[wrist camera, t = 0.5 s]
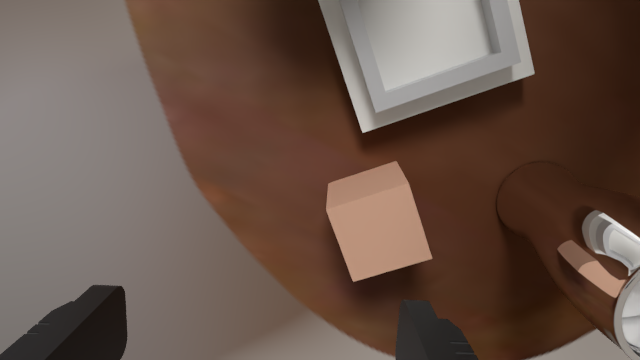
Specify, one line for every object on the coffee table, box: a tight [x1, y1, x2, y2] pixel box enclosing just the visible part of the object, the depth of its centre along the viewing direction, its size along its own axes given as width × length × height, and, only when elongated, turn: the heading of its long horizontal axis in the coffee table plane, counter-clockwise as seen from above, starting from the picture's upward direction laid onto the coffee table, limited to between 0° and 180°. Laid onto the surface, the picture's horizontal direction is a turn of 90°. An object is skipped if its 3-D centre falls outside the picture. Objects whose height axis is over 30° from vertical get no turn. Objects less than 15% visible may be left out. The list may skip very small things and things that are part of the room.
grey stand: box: [318, 0, 535, 133], centre depth 27 cm, size 12×12×4 cm
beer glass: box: [497, 162, 640, 360], centre depth 25 cm, size 7×7×15 cm
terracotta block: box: [326, 161, 432, 282], centre depth 30 cm, size 6×6×6 cm
